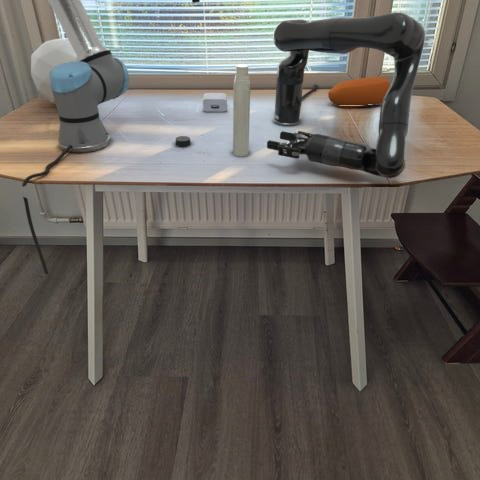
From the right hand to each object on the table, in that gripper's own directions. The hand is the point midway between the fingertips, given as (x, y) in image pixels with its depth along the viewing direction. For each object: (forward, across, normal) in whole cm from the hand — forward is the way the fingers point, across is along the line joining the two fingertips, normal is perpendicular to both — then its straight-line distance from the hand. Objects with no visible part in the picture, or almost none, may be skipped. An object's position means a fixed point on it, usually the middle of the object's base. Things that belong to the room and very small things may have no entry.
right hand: (274, 139), depth 116 cm
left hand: (+30, +3, -33) cm, 45 cm away
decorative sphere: (+94, -8, +6) cm, 94 cm away
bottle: (+11, 0, +7) cm, 13 cm away
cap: (+30, +3, +5) cm, 31 cm away
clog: (-5, -69, +7) cm, 70 cm away
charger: (+44, -37, +6) cm, 57 cm away
